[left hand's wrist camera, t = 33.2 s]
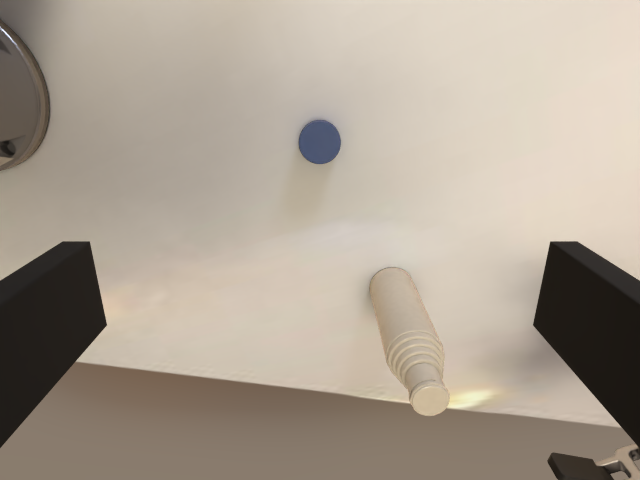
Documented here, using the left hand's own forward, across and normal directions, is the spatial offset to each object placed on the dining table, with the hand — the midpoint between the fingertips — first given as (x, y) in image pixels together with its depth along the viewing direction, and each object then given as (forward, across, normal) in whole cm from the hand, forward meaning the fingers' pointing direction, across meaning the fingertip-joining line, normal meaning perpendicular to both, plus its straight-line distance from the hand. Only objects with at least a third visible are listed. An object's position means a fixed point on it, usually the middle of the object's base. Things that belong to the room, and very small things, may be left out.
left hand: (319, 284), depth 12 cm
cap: (+30, 0, 0) cm, 30 cm away
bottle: (+31, +8, -16) cm, 36 cm away
